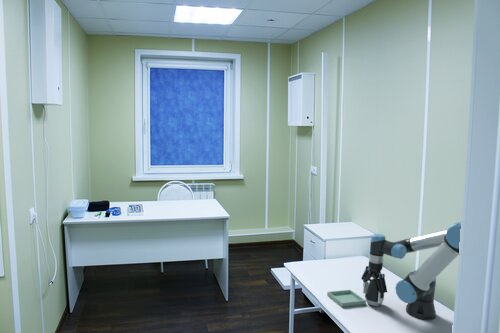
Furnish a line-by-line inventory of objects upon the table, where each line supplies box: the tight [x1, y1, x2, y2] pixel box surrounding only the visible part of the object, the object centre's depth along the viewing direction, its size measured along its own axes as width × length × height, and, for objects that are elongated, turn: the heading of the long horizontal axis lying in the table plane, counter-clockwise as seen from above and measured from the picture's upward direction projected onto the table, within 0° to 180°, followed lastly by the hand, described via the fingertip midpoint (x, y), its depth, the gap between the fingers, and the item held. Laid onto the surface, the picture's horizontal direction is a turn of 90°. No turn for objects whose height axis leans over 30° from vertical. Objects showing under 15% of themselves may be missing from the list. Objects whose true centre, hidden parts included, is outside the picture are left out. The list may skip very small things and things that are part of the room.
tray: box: [326, 289, 367, 308], centre depth 232 cm, size 16×16×2 cm
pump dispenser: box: [364, 277, 385, 307], centre depth 229 cm, size 10×10×15 cm
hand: (372, 298), depth 229 cm, fingers open, 13 cm apart
